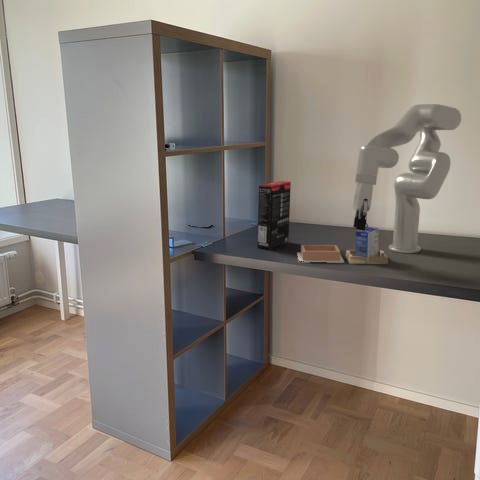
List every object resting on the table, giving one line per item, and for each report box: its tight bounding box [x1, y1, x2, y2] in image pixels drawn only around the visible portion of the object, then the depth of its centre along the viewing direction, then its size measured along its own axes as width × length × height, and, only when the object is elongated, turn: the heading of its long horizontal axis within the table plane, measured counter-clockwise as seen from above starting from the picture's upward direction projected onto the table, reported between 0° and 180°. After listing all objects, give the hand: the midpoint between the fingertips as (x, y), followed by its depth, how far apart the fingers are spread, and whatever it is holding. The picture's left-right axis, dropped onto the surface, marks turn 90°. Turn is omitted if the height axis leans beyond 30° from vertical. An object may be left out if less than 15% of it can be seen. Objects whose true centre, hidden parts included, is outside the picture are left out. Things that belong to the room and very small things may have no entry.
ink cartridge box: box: [355, 222, 380, 265], centre depth 188 cm, size 10×6×14 cm, turn 142°
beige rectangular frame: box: [345, 249, 389, 265], centre depth 190 cm, size 10×14×3 cm
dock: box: [296, 244, 345, 264], centre depth 192 cm, size 12×17×4 cm
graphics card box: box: [256, 180, 292, 250], centre depth 211 cm, size 17×7×27 cm, turn 147°
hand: (359, 228), depth 184 cm, fingers open, 5 cm apart
